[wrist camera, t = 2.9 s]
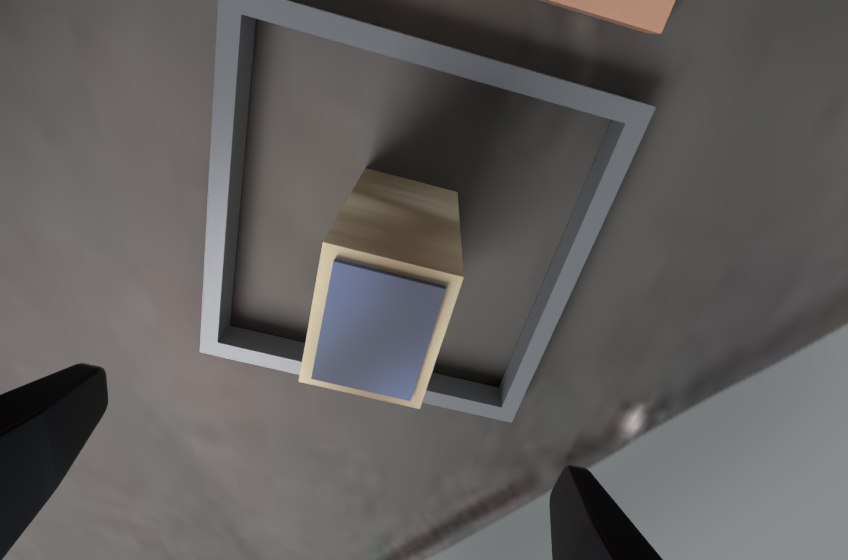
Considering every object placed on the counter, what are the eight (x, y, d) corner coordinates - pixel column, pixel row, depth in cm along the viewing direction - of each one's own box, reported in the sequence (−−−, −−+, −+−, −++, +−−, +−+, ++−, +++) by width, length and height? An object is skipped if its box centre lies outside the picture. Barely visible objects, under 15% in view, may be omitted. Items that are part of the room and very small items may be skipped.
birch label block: (344, 270, 23) (296, 385, 15) (365, 167, 20) (321, 245, 13) (427, 291, 23) (419, 413, 16) (457, 192, 21) (464, 280, 13)
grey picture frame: (213, 334, 25) (199, 352, 23) (236, -16, 17) (219, -20, 16) (508, 402, 26) (511, 422, 24) (641, 101, 19) (656, 107, 17)
